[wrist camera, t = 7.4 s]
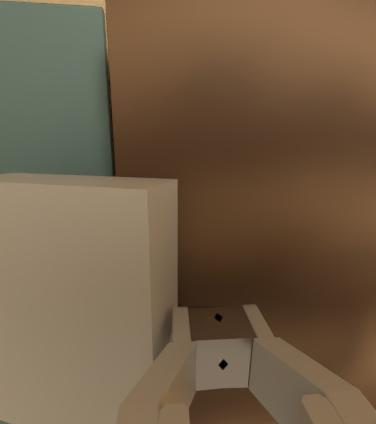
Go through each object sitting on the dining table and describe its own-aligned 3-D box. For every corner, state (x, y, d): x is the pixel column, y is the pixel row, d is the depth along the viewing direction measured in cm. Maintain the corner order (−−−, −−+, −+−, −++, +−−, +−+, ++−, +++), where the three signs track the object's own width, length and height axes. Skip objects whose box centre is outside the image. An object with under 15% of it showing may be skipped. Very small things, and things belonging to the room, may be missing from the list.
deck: (127, 38, 11) (103, -24, 7) (405, 53, 12) (519, 5, 8) (142, 400, 16) (134, 477, 12) (332, 388, 17) (378, 456, 13)
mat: (-192, -6, 10) (-207, -13, 9) (104, 12, 11) (101, 7, 10) (-53, 423, 16) (-59, 430, 15) (128, 412, 16) (127, 418, 16)
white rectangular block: (14, 172, 10) (-62, 178, 7) (177, 179, 8) (147, 189, 6) (48, 367, 12) (-1, 419, 10) (177, 404, 10) (156, 477, 8)
